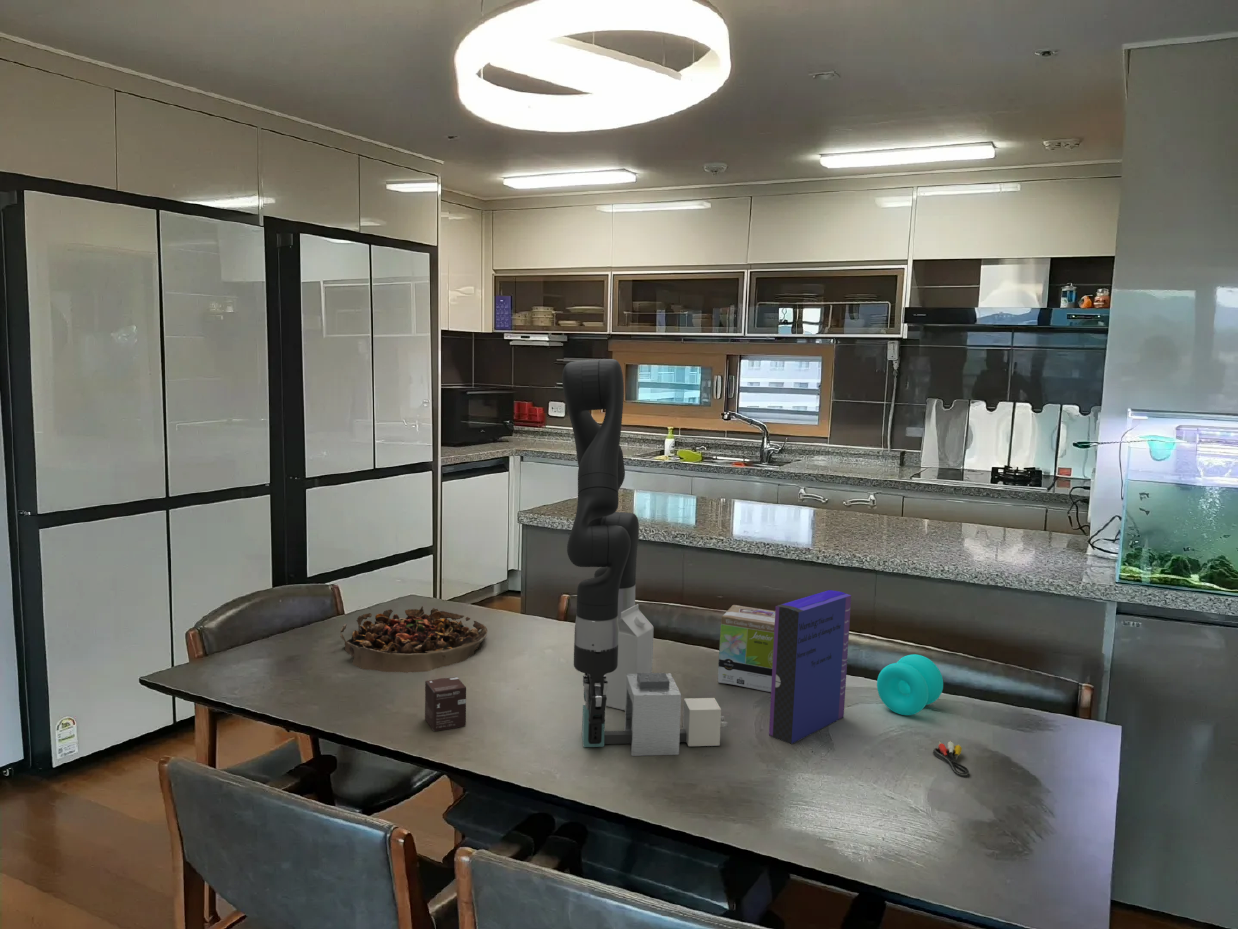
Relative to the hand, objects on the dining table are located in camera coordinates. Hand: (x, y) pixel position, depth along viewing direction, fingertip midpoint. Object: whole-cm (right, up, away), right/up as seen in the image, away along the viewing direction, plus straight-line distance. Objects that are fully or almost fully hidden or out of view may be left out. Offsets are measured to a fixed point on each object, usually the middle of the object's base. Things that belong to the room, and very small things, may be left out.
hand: (593, 737), depth 143 cm
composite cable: (+60, -4, -3) cm, 60 cm away
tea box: (+33, +1, +31) cm, 46 cm away
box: (-27, 0, +7) cm, 28 cm away
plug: (+11, -1, +1) cm, 11 cm away
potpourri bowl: (-43, +5, +48) cm, 64 cm away
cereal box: (+39, -1, +10) cm, 40 cm away
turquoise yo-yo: (+61, -1, +20) cm, 64 cm away
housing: (+10, -1, +1) cm, 10 cm away
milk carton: (+6, 0, +18) cm, 19 cm away
